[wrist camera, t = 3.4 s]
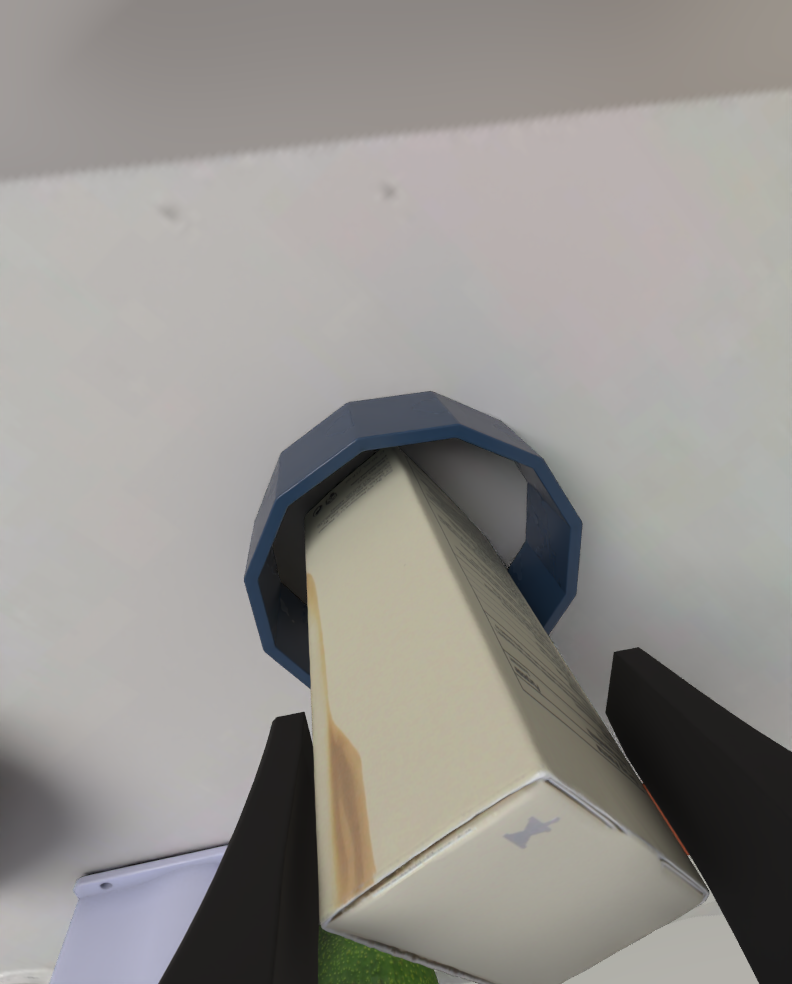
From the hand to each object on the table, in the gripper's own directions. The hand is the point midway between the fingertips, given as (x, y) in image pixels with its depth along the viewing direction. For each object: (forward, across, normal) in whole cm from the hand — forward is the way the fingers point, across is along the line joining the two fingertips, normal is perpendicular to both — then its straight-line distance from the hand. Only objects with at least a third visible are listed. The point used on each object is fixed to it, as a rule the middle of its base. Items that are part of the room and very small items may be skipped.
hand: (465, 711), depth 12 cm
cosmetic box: (+8, 0, 0) cm, 8 cm away
